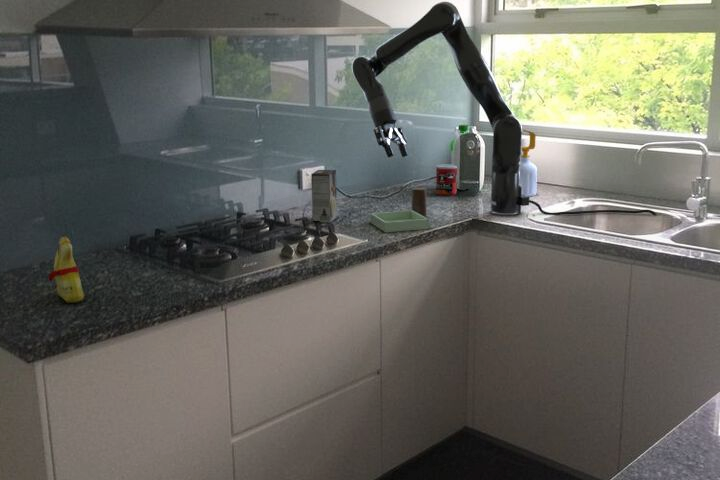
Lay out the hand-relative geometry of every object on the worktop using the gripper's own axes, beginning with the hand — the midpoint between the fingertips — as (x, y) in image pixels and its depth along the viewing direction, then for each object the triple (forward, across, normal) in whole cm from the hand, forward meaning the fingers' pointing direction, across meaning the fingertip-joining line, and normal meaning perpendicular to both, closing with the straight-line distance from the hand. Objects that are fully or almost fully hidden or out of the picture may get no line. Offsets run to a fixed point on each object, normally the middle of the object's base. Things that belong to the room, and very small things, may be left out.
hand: (398, 156), depth 277 cm
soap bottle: (+22, +58, -10) cm, 62 cm away
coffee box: (+12, -17, +25) cm, 32 cm away
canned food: (+11, +42, +12) cm, 45 cm away
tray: (+23, -11, +2) cm, 26 cm away
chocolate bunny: (+22, -117, +28) cm, 123 cm away
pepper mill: (+22, +2, +2) cm, 22 cm away
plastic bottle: (+10, +54, +11) cm, 56 cm away
